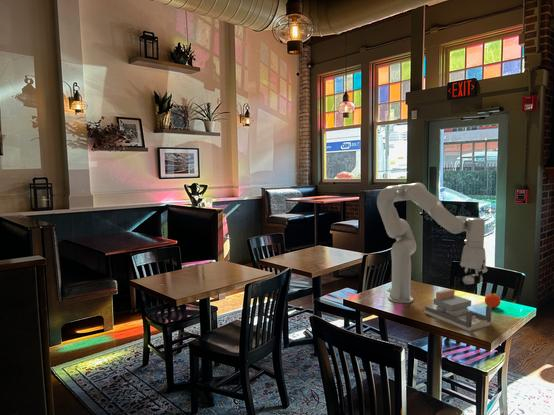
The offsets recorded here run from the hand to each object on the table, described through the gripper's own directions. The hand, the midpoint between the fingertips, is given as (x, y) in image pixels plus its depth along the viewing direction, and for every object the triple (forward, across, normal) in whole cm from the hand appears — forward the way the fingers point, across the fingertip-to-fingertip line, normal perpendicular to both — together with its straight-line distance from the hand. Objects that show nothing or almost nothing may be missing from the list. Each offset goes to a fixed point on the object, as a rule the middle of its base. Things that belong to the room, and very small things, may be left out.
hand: (472, 281), depth 194 cm
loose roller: (+1, 0, 0) cm, 1 cm away
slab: (+9, -1, -13) cm, 16 cm away
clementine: (+15, 0, +16) cm, 22 cm away
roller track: (+15, +2, -13) cm, 20 cm away
